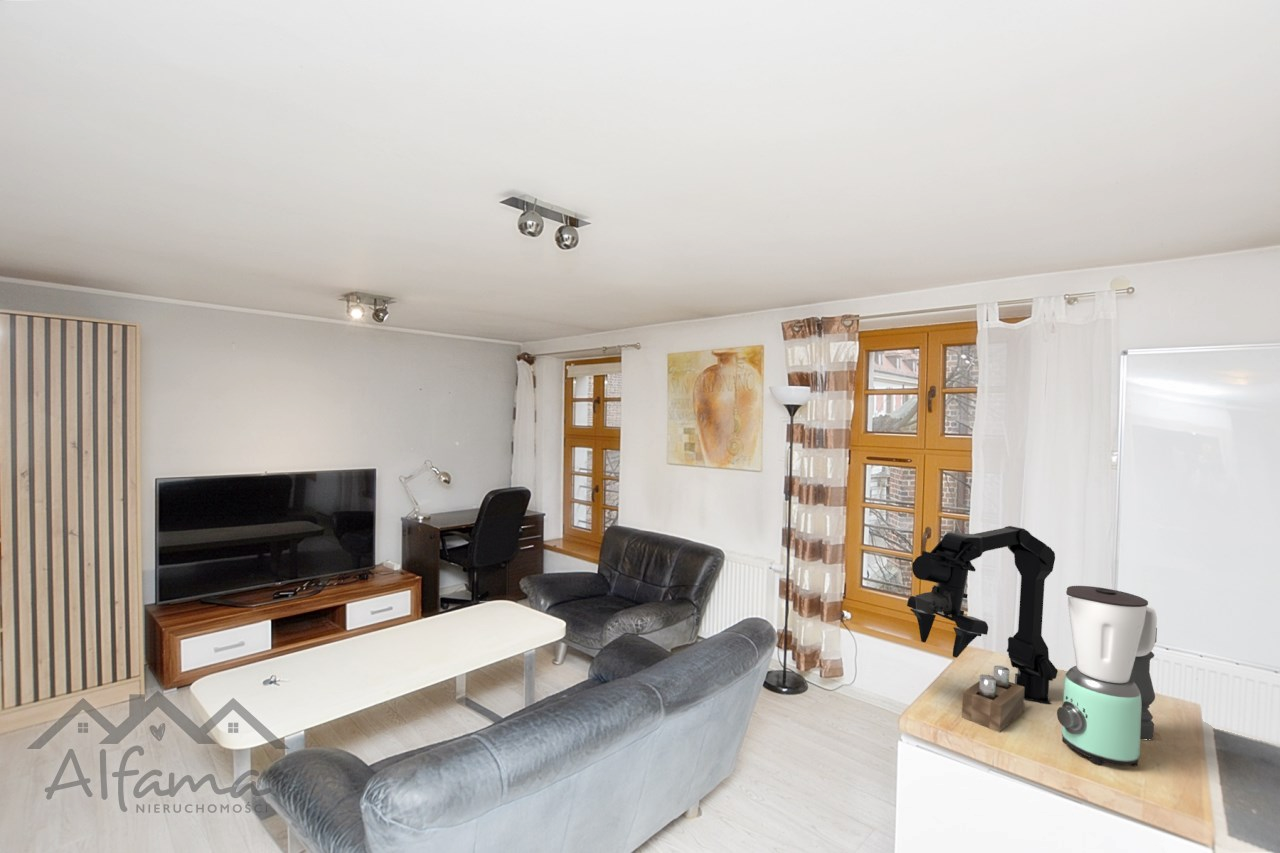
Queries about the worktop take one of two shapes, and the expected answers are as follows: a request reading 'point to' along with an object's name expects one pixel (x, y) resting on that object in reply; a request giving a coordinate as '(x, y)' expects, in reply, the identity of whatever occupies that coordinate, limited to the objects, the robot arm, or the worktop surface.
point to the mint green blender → (1105, 673)
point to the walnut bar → (993, 706)
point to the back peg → (1001, 676)
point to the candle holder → (1144, 692)
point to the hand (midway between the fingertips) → (938, 649)
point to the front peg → (987, 686)
